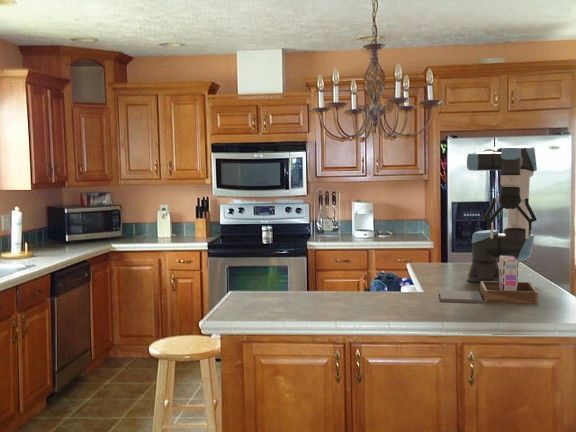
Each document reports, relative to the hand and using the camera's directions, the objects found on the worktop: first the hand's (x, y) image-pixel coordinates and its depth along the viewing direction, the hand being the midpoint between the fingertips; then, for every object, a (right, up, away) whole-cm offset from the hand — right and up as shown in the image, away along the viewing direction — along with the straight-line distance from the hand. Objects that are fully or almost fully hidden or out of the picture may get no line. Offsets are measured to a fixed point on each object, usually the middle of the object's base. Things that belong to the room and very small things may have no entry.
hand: (509, 238), depth 263 cm
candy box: (0, -24, +2) cm, 25 cm away
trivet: (-19, -24, +2) cm, 31 cm away
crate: (0, -24, +2) cm, 24 cm away
